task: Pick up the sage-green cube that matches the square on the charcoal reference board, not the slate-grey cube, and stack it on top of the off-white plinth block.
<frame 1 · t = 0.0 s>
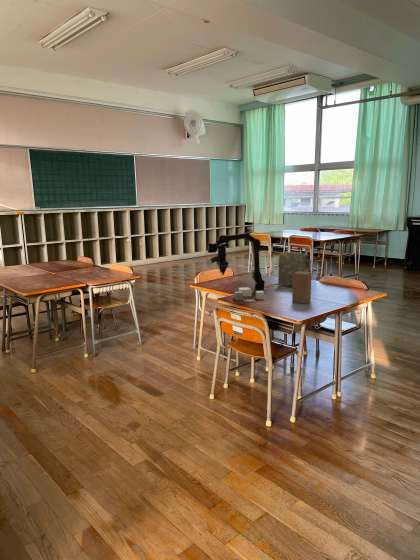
hand: (222, 273, 304), 15 cm above the table, tool pointing down, fingers open, 9 cm apart
reference board: (249, 301, 282), on the table
grey cube: (238, 299, 288), on the table
bag: (293, 286, 330), on the table
green cube: (259, 298, 289), on the table
plinth: (245, 295, 300), on the table
block: (301, 302, 279), on the table
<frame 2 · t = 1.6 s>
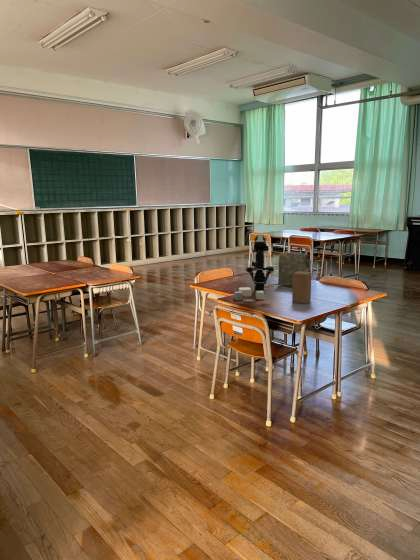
hand: (259, 281, 287), 12 cm above the table, tool pointing down, fingers open, 9 cm apart
nothing on the table moved.
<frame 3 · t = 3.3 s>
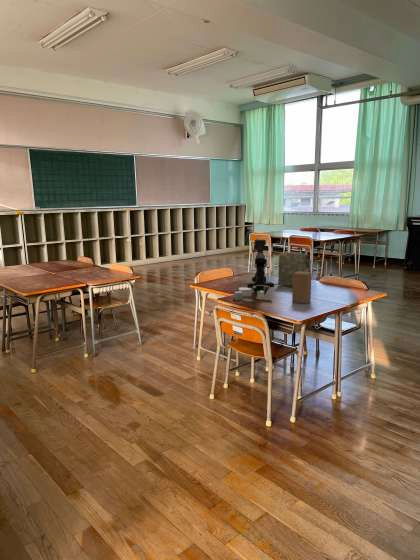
hand: (259, 297, 289), 1 cm above the table, tool pointing down, fingers closed on green cube, 5 cm apart
green cube: (259, 298, 289), on the table, touching gripper
everything else where it was.
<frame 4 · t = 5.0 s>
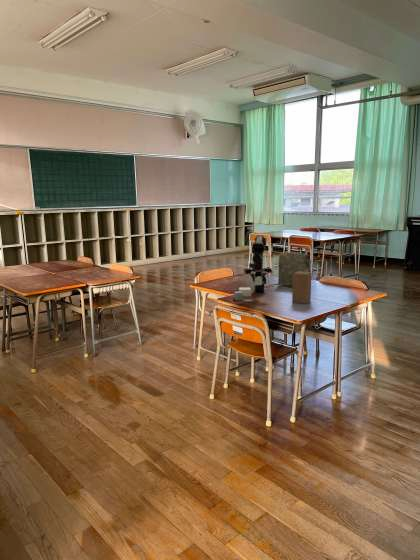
hand: (257, 282, 289), 11 cm above the table, tool pointing down, fingers closed on green cube, 5 cm apart
green cube: (257, 284, 289), point 10 cm above the table, touching gripper
everything else where it was.
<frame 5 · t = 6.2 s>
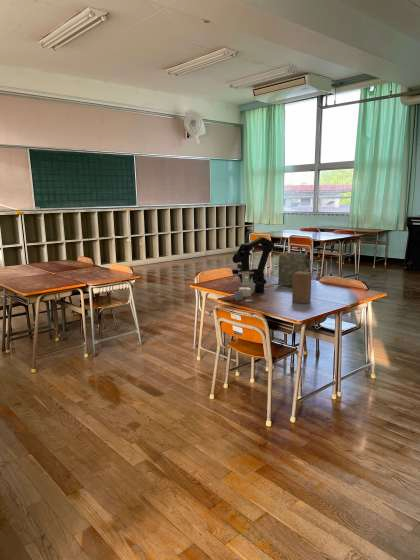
hand: (245, 283, 298), 9 cm above the table, tool pointing down, fingers closed on green cube, 5 cm apart
green cube: (245, 284, 299), point 8 cm above the table, touching gripper
everything else where it was.
when the fingers open (7 cm above the table, at t = 6.9 s): green cube drops 2 cm, resting on plinth.
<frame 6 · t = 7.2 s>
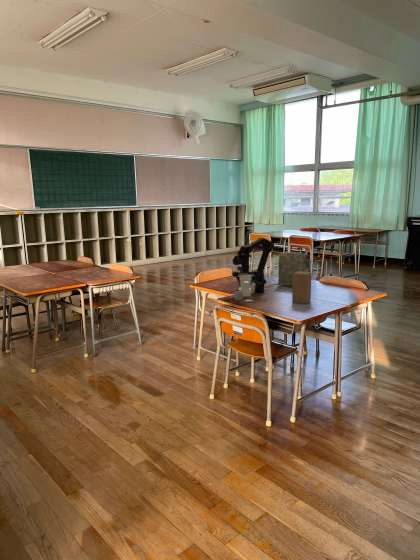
hand: (245, 285, 299), 7 cm above the table, tool pointing down, fingers open, 8 cm apart
green cube: (245, 288, 299), point 5 cm above the table, touching plinth
plinth: (245, 295, 300), on the table, touching green cube
everything else where it was.
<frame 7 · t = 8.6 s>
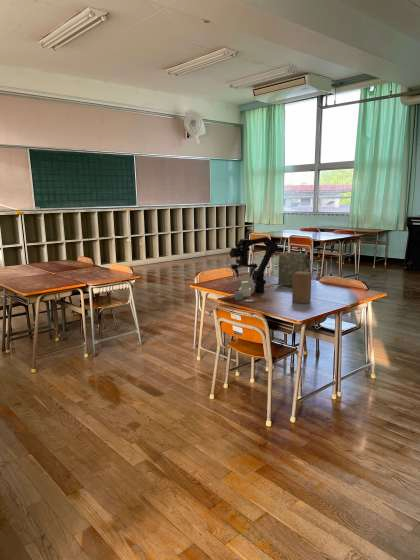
hand: (243, 277, 302), 12 cm above the table, tool pointing down, fingers open, 9 cm apart
green cube: (245, 288, 299), point 5 cm above the table
plinth: (244, 295, 300), on the table
everything else where it was.
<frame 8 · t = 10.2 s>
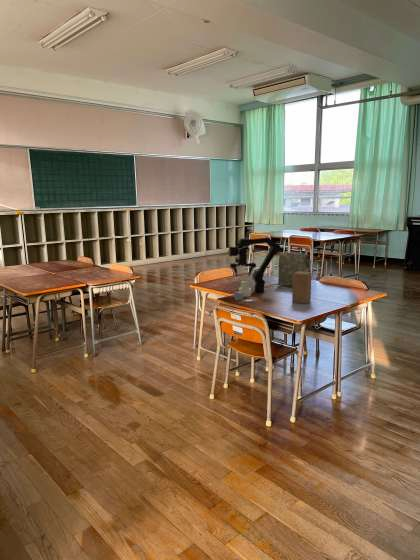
hand: (242, 276, 305), 12 cm above the table, tool pointing down, fingers open, 9 cm apart
green cube: (245, 288, 299), point 5 cm above the table, touching plinth
plinth: (244, 295, 300), on the table, touching green cube
everything else where it was.
at the end: green cube 0.2 cm off-centre on the plinth, point 5.0 cm above the plinth's base; green cube tilted 0°; grey cube moved 0.1 cm from its start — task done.
